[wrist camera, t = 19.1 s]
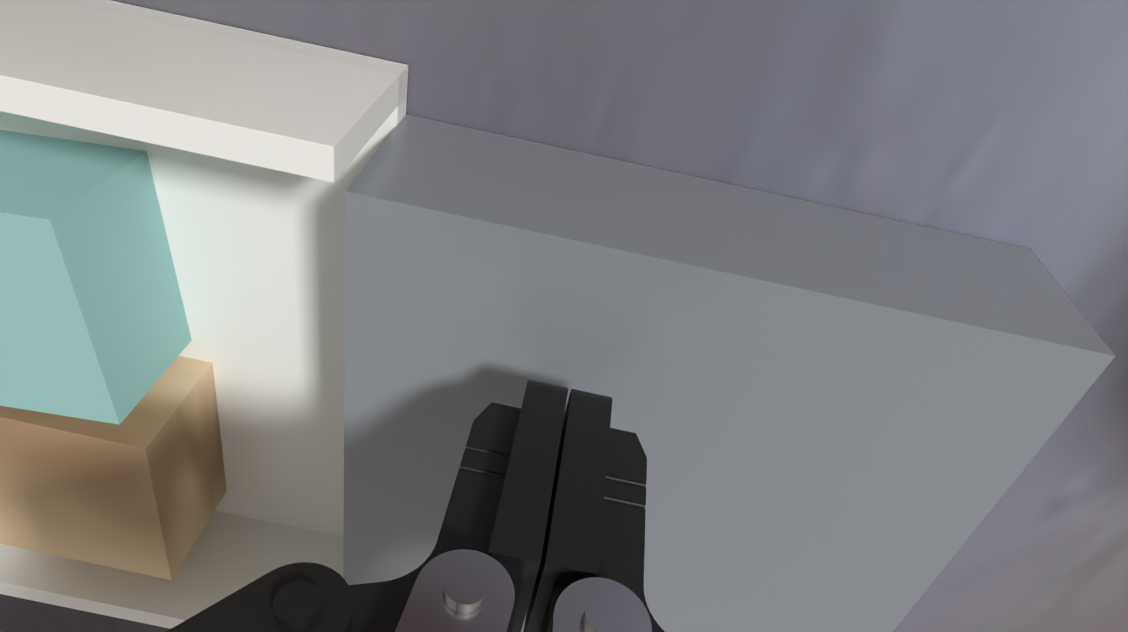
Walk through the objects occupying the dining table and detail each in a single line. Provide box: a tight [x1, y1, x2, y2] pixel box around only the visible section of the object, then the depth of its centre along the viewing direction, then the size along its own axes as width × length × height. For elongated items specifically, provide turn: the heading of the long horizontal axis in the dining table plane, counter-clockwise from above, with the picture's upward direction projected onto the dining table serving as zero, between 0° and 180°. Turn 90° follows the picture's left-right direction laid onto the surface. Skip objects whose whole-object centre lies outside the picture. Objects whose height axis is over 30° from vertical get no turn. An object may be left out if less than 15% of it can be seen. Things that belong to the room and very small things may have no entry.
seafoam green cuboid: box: [0, 130, 192, 425], centre depth 16 cm, size 5×5×3 cm
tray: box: [0, 0, 408, 629], centre depth 17 cm, size 15×12×4 cm
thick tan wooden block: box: [0, 355, 227, 580], centre depth 19 cm, size 5×5×3 cm
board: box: [343, 114, 1115, 632], centre depth 17 cm, size 13×13×4 cm
